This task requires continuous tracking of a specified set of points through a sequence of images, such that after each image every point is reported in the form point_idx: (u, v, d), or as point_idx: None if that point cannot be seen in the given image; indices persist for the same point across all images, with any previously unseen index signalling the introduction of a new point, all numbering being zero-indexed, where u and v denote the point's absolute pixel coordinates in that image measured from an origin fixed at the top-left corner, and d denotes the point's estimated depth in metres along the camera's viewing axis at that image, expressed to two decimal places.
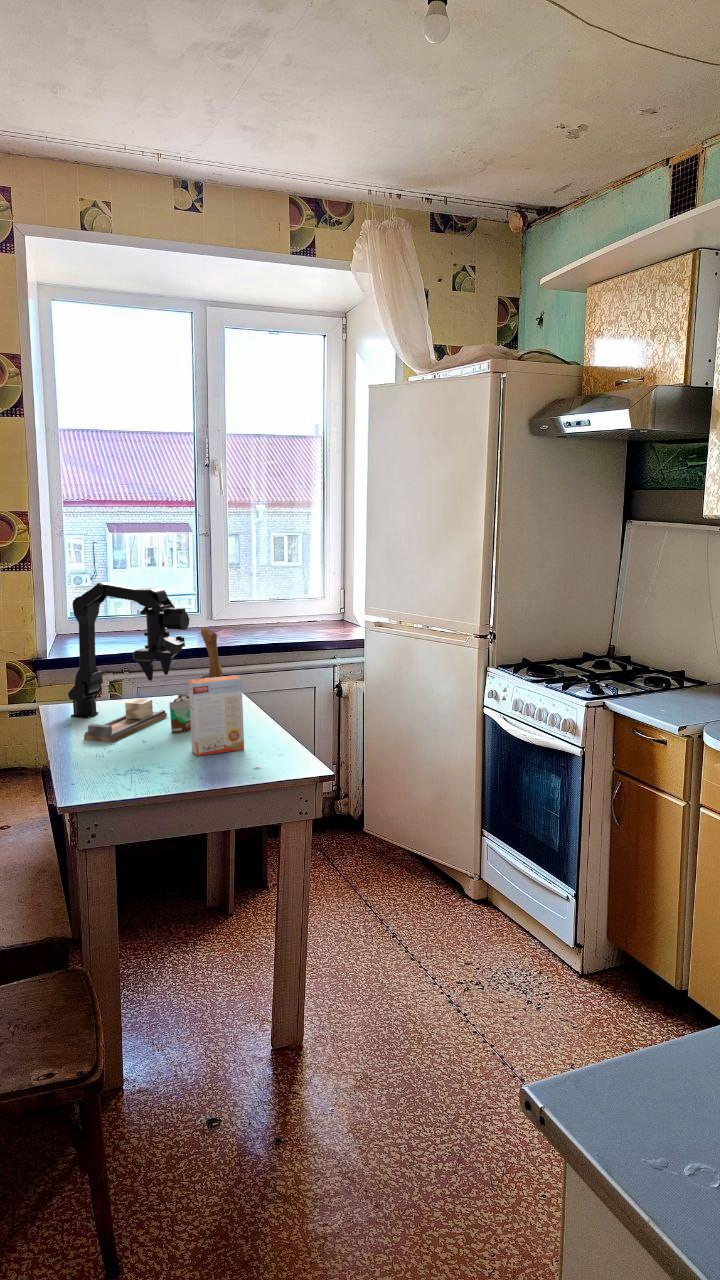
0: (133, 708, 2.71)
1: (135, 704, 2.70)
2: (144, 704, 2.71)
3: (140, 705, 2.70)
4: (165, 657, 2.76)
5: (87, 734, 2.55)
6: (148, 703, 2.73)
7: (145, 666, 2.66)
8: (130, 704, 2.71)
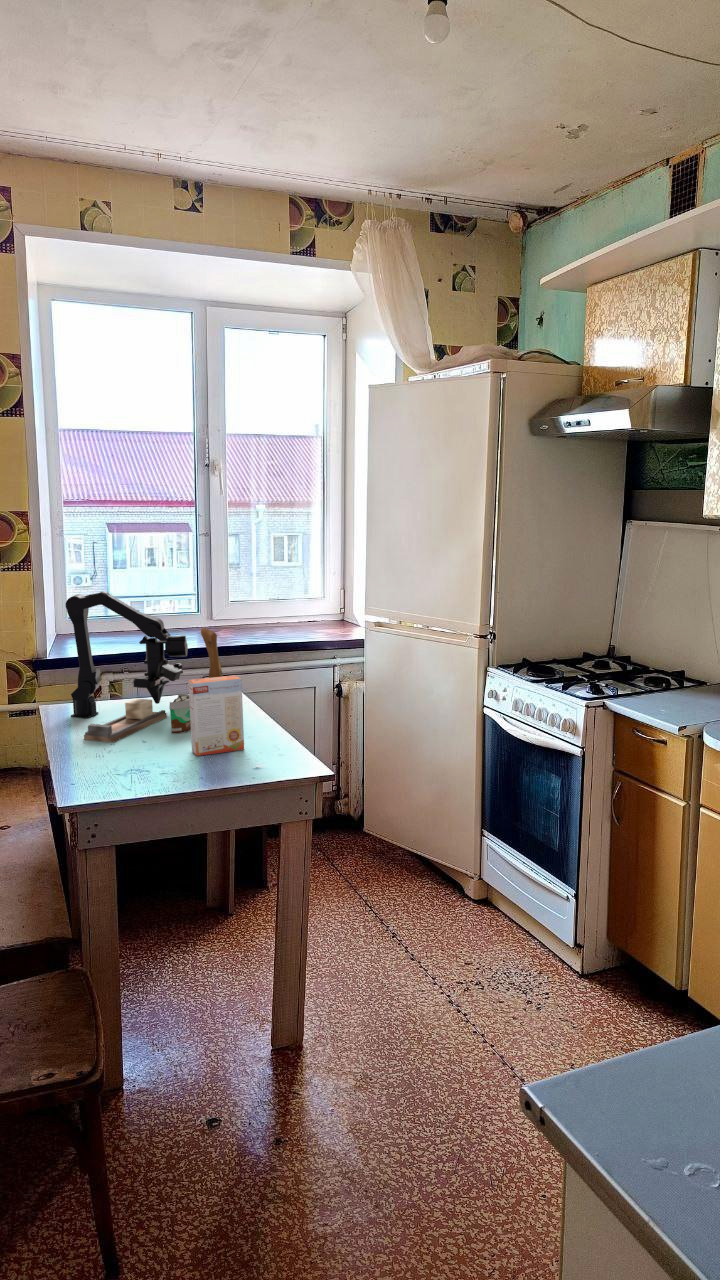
0: (133, 708, 2.71)
1: (135, 704, 2.70)
2: (144, 704, 2.71)
3: (140, 705, 2.70)
4: None
5: (87, 734, 2.55)
6: (148, 703, 2.73)
7: (152, 690, 2.82)
8: (130, 704, 2.71)
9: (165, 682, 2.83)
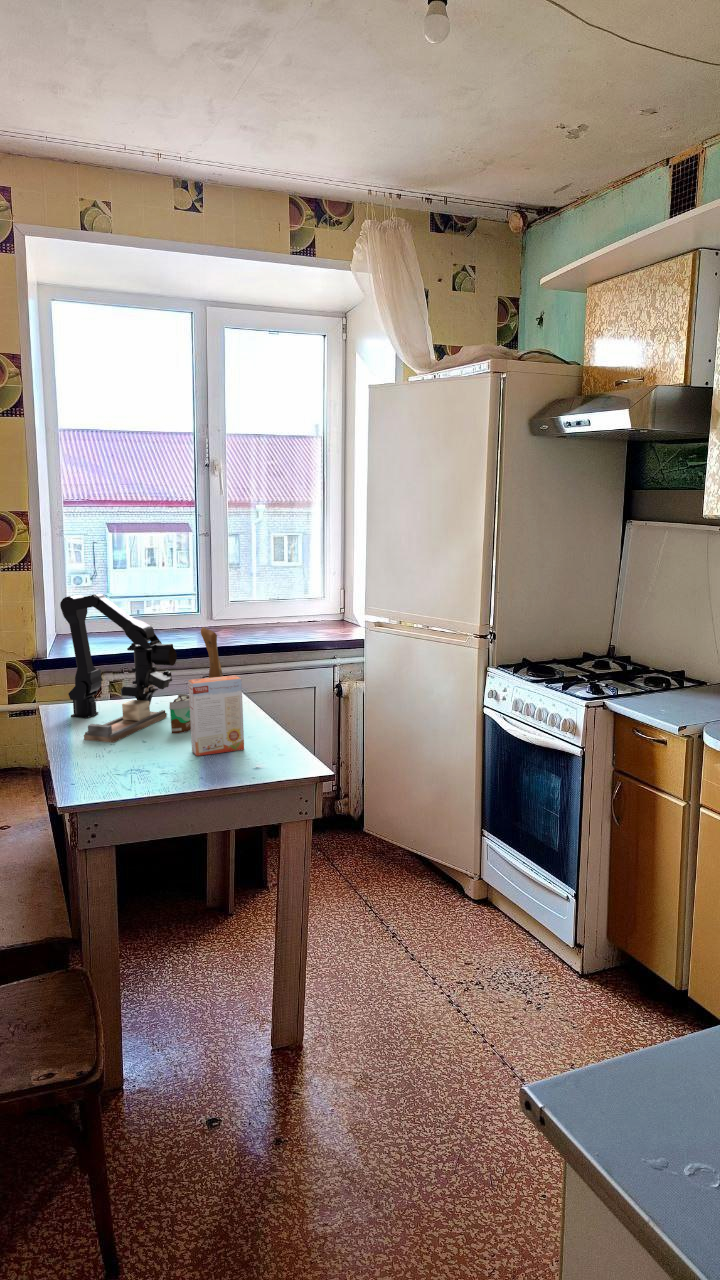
0: (130, 709, 2.69)
1: (132, 705, 2.69)
2: (141, 705, 2.69)
3: (137, 706, 2.68)
4: None
5: (87, 734, 2.55)
6: (145, 704, 2.71)
7: (140, 698, 2.76)
8: (127, 705, 2.69)
9: (154, 690, 2.76)
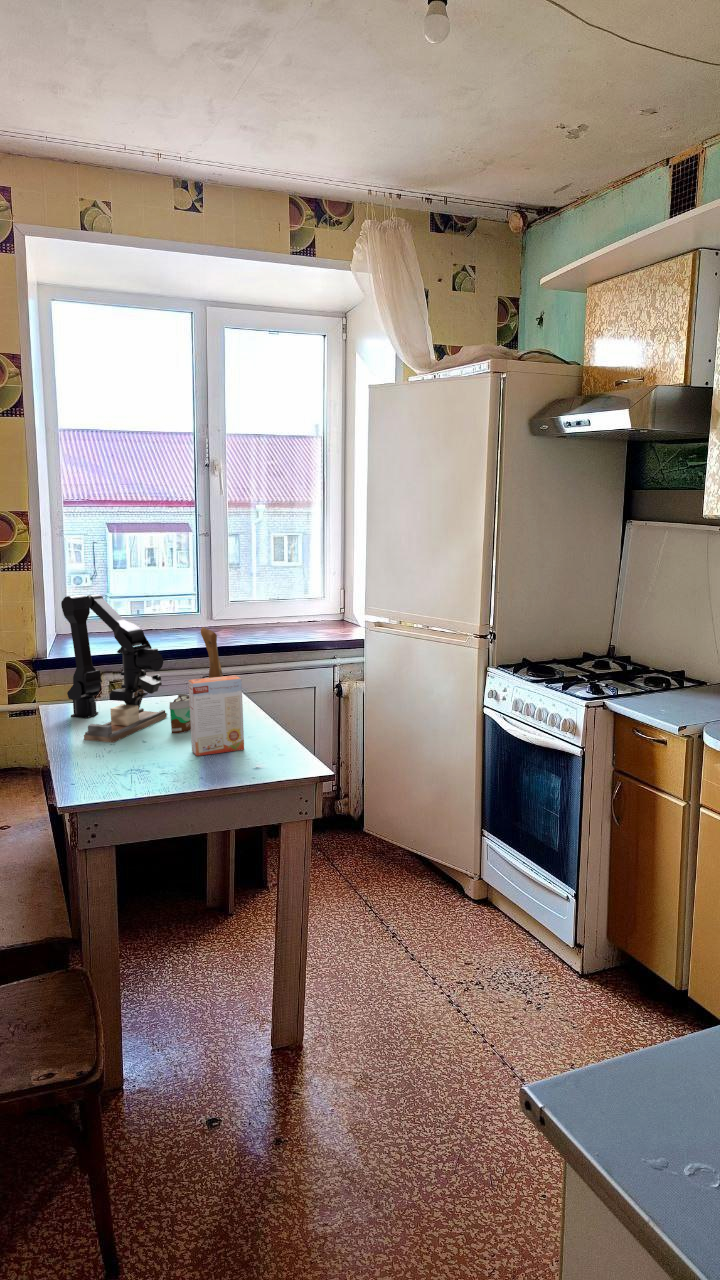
0: (118, 714, 2.63)
1: (121, 710, 2.63)
2: (130, 710, 2.63)
3: (126, 711, 2.62)
4: None
5: (87, 734, 2.55)
6: (134, 709, 2.66)
7: (129, 703, 2.70)
8: (115, 710, 2.63)
9: (143, 694, 2.71)
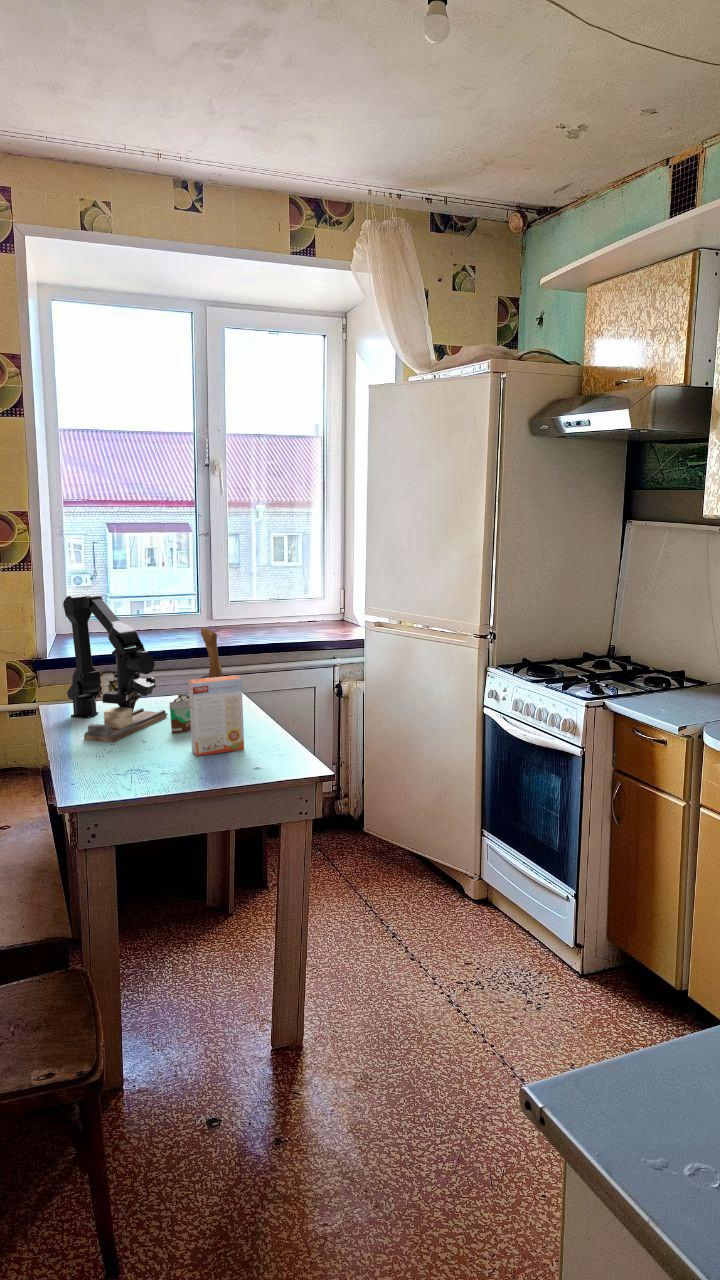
0: (112, 717, 2.60)
1: (114, 713, 2.59)
2: (123, 713, 2.60)
3: (119, 714, 2.59)
4: None
5: (87, 734, 2.55)
6: (128, 712, 2.62)
7: (123, 705, 2.66)
8: (109, 713, 2.60)
9: (137, 697, 2.67)
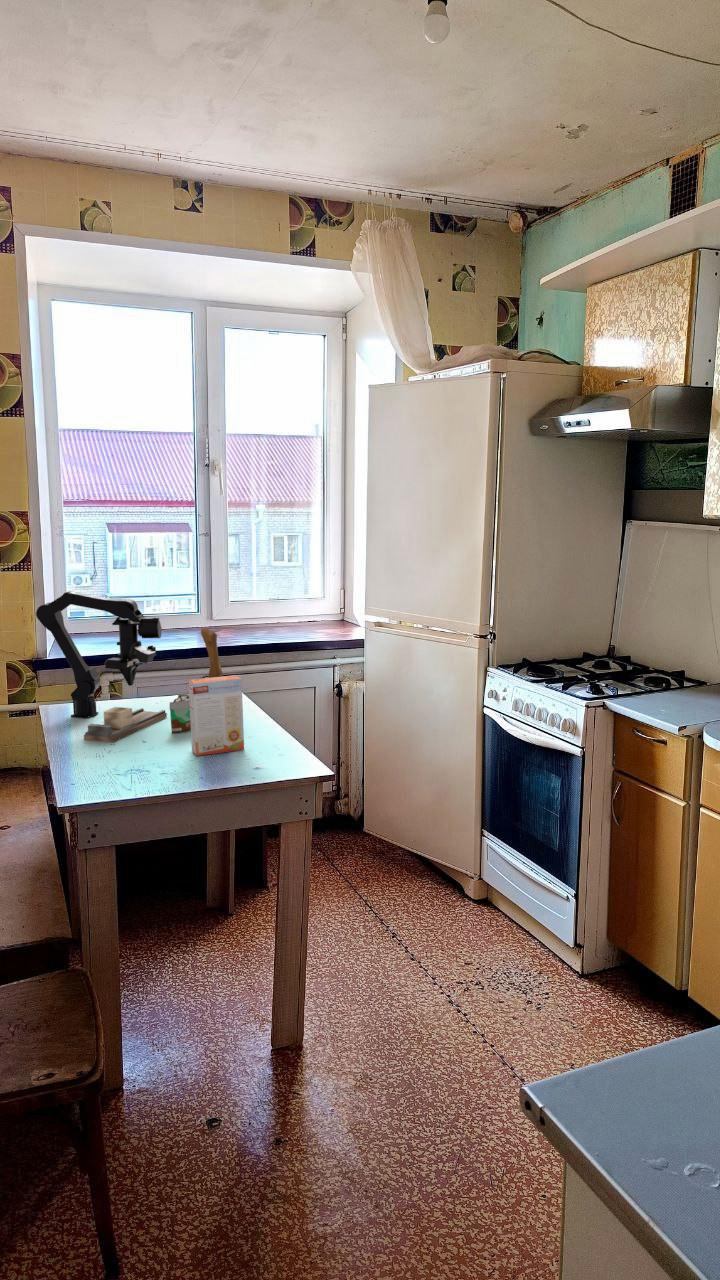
0: (111, 717, 2.60)
1: (114, 713, 2.59)
2: (123, 713, 2.60)
3: (119, 714, 2.59)
4: None
5: (87, 734, 2.55)
6: (127, 712, 2.62)
7: (125, 672, 2.80)
8: (109, 713, 2.60)
9: (138, 664, 2.81)
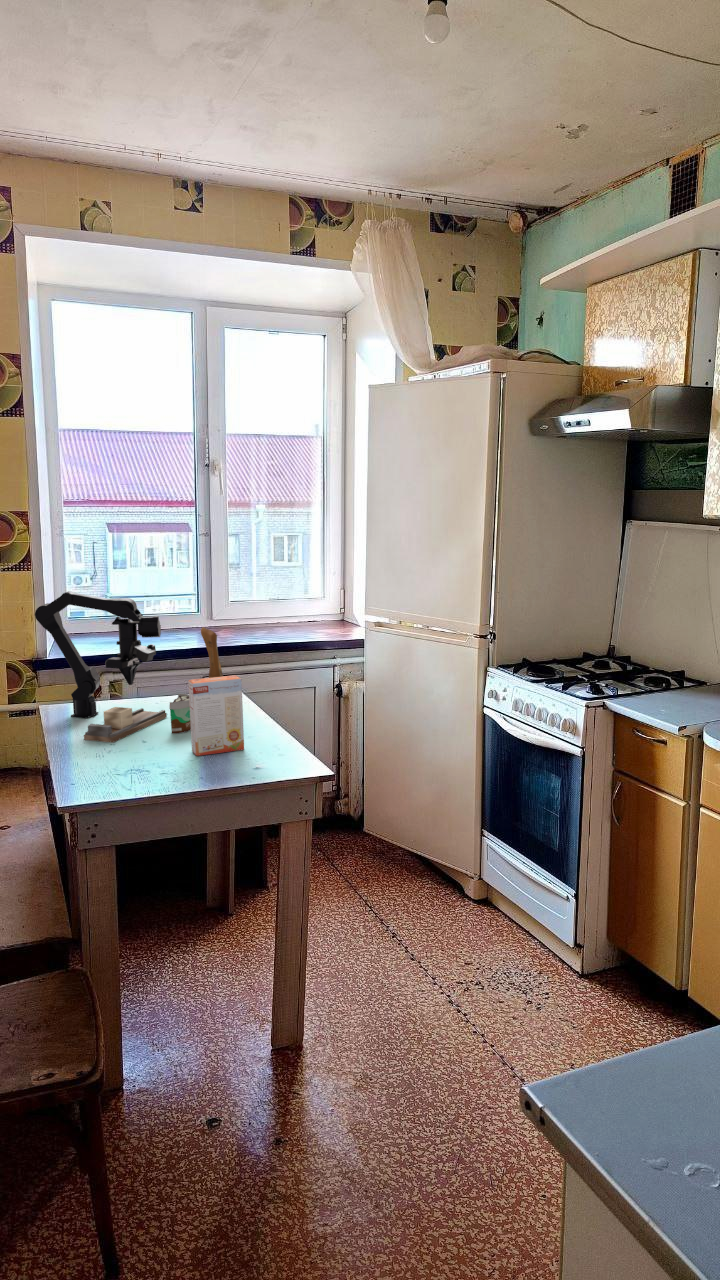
0: (111, 717, 2.60)
1: (114, 713, 2.59)
2: (123, 713, 2.60)
3: (119, 714, 2.59)
4: None
5: (87, 734, 2.55)
6: (127, 712, 2.62)
7: (125, 671, 2.81)
8: (109, 713, 2.60)
9: (138, 663, 2.81)
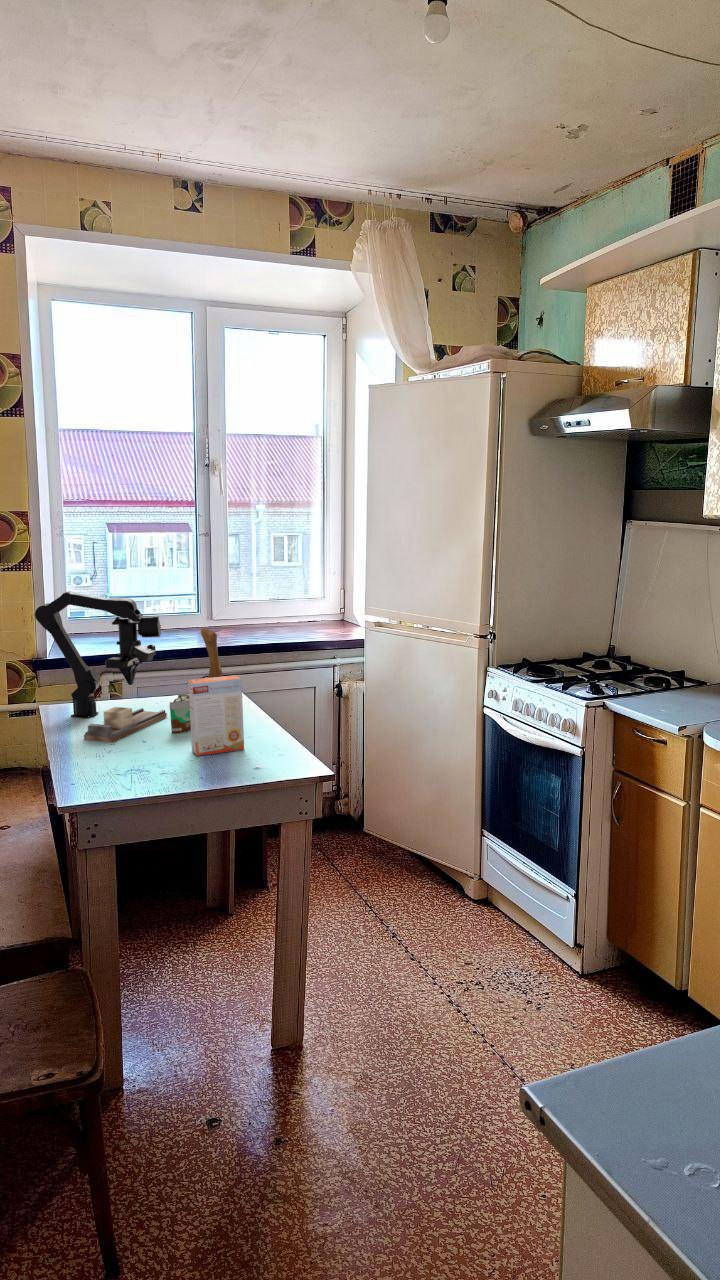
0: (111, 717, 2.60)
1: (114, 713, 2.59)
2: (123, 713, 2.60)
3: (119, 714, 2.59)
4: None
5: (87, 734, 2.55)
6: (127, 712, 2.62)
7: (125, 671, 2.81)
8: (109, 713, 2.60)
9: (138, 663, 2.81)
